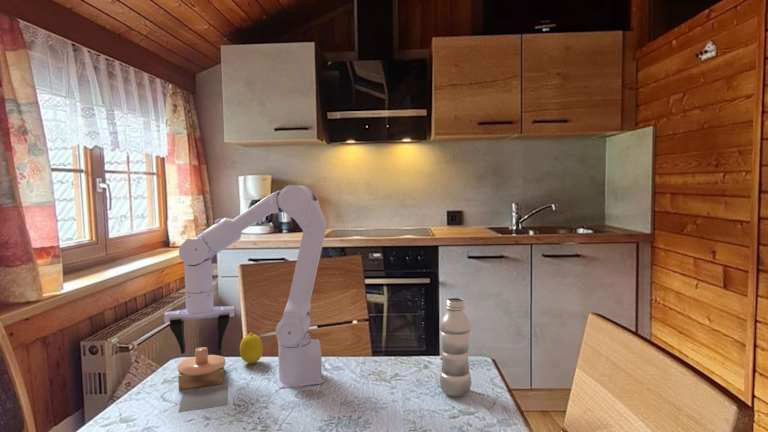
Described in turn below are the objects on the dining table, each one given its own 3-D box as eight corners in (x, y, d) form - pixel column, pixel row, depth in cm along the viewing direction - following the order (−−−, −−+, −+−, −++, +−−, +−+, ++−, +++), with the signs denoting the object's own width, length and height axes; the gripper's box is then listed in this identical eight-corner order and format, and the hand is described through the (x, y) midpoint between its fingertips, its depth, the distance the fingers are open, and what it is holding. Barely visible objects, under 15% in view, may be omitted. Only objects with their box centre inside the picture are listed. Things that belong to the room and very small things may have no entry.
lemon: (257, 369, 110) (256, 337, 110) (235, 368, 112) (234, 336, 111) (267, 361, 116) (266, 330, 115) (247, 359, 117) (246, 329, 116)
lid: (225, 355, 110) (225, 339, 110) (224, 371, 101) (224, 353, 100) (180, 361, 107) (179, 344, 107) (175, 378, 98) (174, 359, 97)
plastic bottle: (477, 392, 97) (477, 299, 96) (459, 404, 92) (459, 305, 91) (451, 384, 101) (451, 294, 100) (433, 394, 96) (433, 300, 95)
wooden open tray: (224, 370, 110) (223, 356, 110) (223, 385, 102) (222, 370, 101) (183, 375, 107) (182, 361, 107) (178, 391, 99) (178, 376, 99)
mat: (227, 388, 101) (227, 386, 101) (227, 406, 92) (227, 404, 92) (183, 394, 98) (183, 392, 98) (178, 414, 89) (178, 412, 89)
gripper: (233, 284, 109) (235, 340, 110) (166, 289, 105) (169, 348, 106) (233, 290, 103) (235, 350, 103) (161, 296, 98) (164, 358, 99)
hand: (201, 350), depth 104 cm, fingers open, 7 cm apart
